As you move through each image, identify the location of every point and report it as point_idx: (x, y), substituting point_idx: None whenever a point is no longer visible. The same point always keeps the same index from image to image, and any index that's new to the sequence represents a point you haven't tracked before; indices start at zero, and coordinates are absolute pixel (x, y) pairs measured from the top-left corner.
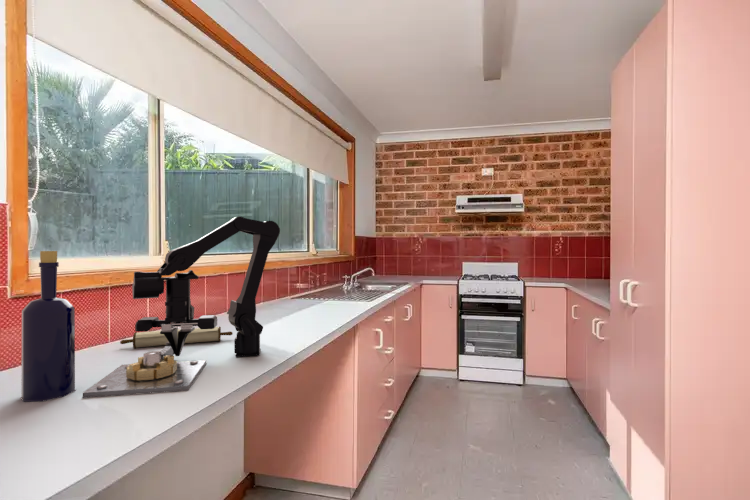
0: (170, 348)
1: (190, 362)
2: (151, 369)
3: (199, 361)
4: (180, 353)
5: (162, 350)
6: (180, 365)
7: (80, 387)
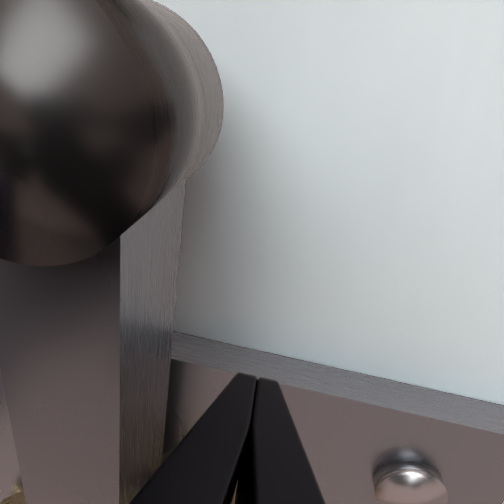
0: (122, 427)
1: (377, 501)
2: None
3: (468, 457)
4: (282, 398)
5: (50, 499)
6: None
7: None
